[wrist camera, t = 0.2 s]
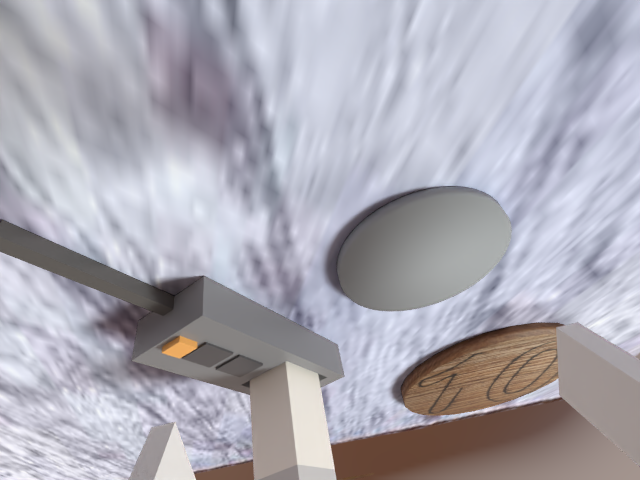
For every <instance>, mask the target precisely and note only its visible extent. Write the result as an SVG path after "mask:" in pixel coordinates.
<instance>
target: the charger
mask: <svg viewBox="0 0 640 480" xmlns="http://www.w3.org/2000/svg"><path fill="white" fill-rule="evenodd" d="M250 401H251V422H252V443H253V464H254V480H336V475H335V469H334V463H333V457H332V452H331V446H330V440H329V434H328V428H327V422H326V416H325V411H324V405H323V399H322V393H321V387H320V381H319V376H318V373H315V372H313V371H310V370H308V369H305V368H303V367H300V366H298V365H295V364H293V363H290V362H288V361H286V362H284V363H282V364H280V365H278V366H276V367H274V368H272V369H271V370H269V371H267V372H265V373H263V374H261V375H259V376H257V377H255V378H253V379H251V380H250Z"/></svg>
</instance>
